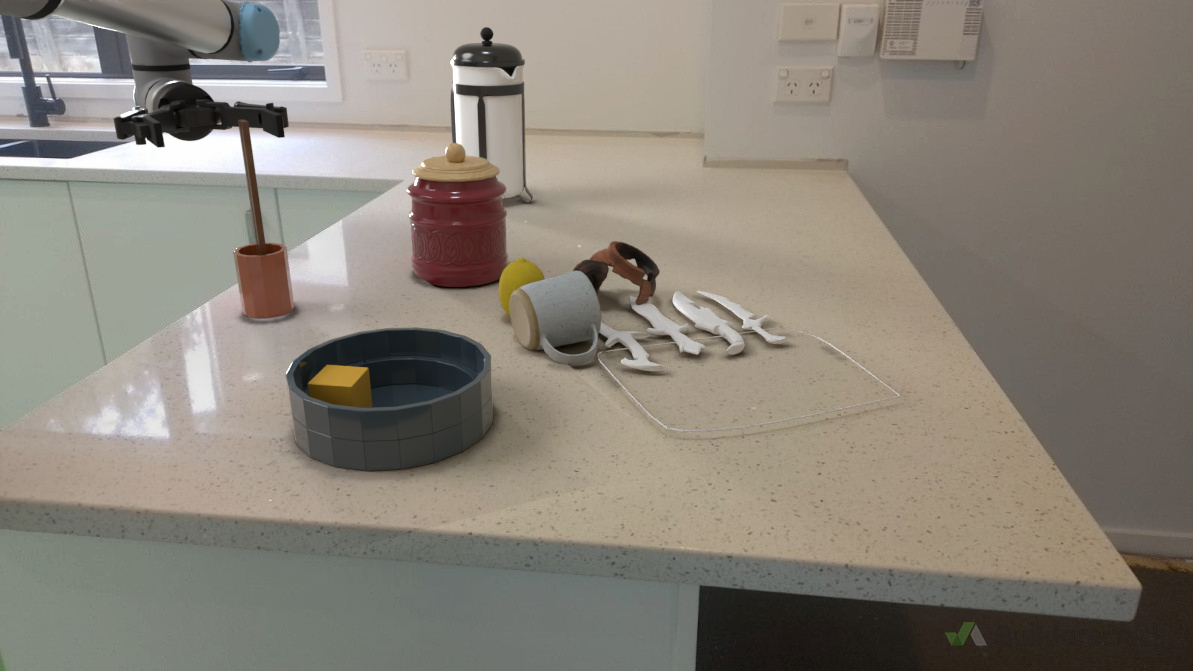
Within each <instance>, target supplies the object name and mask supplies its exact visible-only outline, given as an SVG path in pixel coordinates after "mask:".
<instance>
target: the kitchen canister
mask: <svg viewBox="0 0 1193 671" xmlns="http://www.w3.org/2000/svg"><path fill="white" fill-rule="evenodd" d="M499 172H500V170H499V168H498V167H496V166H494V165H492V164H491V163H489V161H488V160H487V159H484V158H481V157H475V156H466V153H465V149H464V147H463V146H462V145H461V144H458V143H453V142H452V143H449V144H448V145H447V146H446V147H445V151H444V155H442V156H433V157H429V158H426V159H424V160H423V161H422V162H421V163H420V164H419V165H417V166H416V167H414V168H413V169H412V170H411V174H412V175H413V176H414V177H415V178H414V179H415V180H414V182H412V183H411V184H409V185H408V186H407V188H406V194H408V195H409V196H410V197H411V209H410V210H409V212H408V218H409V221H410V237H411V253H412V255H411V268H412V269H413V272H414V273H413V274H414V275H415V277H417V278H419V280H423V281H425V282H427V283H428V284H430V285H432V286H438V287H447V288H465V287H474V286H475V287H476V286H481V285H485V284H490V283H494V282H496V281H498V280H500V277H501V275H502V272H503V271H504V269H505V268H506V267H507V266H508V265H509V260H508V259H509V253H508V250H507V220H506V219H507V215H508V211H507V210H506V208H505V207H504V199H502V196H503V194H504V193H505V192H506V186H505V185H504V184H503V183H501V182H500V181H498V179H497V177H496V175H498V174H499Z"/></svg>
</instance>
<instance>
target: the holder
mask: <svg viewBox="0 0 1193 671" xmlns="http://www.w3.org/2000/svg"><path fill="white" fill-rule="evenodd" d="M265 244H266V251H267V254H266V255H257V249H256V242H255V243H248V244H244V245H242V246H239V247H236V248H235V249H234V250H233V252H232V253H233V254H232V255H233V259H234V265H235V272H236V273H235V274H236V278H237V284H238V285H237V286H238V292H239V298H240V303H241V311H242V313H243V315H244V316H246V317H248V318H252V319H270V318H271V319H272V318H277V317H281V316H284V315H287V314H289V313H291V312H292V311H293V310H294V308H295V301H294V292H293V285H292V277H291V270H290V263H289V255H288V254H289V253H288V249H287V248H288V247H287V246H285V244H283V243H277V242H265Z"/></svg>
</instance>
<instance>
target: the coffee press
mask: <svg viewBox="0 0 1193 671" xmlns="http://www.w3.org/2000/svg"><path fill="white" fill-rule="evenodd" d="M494 35H495V33H494V31H493V29H492V28H490V27H489V26H488V27H487V26H486V27H482V28H481V30H480V33H479V36H480V38H481V40H482V41H481V42H472V43H471V42H470V43H465V44H461V45H460V46H458V47H457V48H455V50H454V51H453V53H452V58H450V59H449V63H450V66H451V67H452V80H453V81H451V91H450V124H451V139H452V140H451V141H452V143H458V144H461V145H462V146H463V147H464V149H465V153H466V156H475V157H481V158H484V159H487V160H488V161H489V163H491V164H492V165H494V166H496V167H498V168H499V170H500V172H499V174H498V175H496V177H497V179H498V181H500V182H501V183H503V184H504V185H505V186H506V192H505V193H504V194H503V196H502V199H503V200H505V199H510V198H514V197H515V198H516V197H517V198H519V199H521V200H522V201H523V202H524V203H526V204H530V203H531V202H532V200H533V199H534V196H533V194H532V193H531V192H530V190H529V189H528V186H527V168H526V167H527V160H526V159H527V157H526V154H527V153H526V109H525V108H526V107H525V106H526V104H525V81H524V67H525V64H526V59H524V58H523V55H522V53H521V51H520V50H519V49H518V48H517V47H516V46H514V45H511V44H508V43H501V42H493V41H492V39H493V37H494ZM524 190H525V192H526V194H527V196H528V197H529V198H530V200H527V198H525V197H524V196H523V195H521V194H522V193H523V191H524Z"/></svg>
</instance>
